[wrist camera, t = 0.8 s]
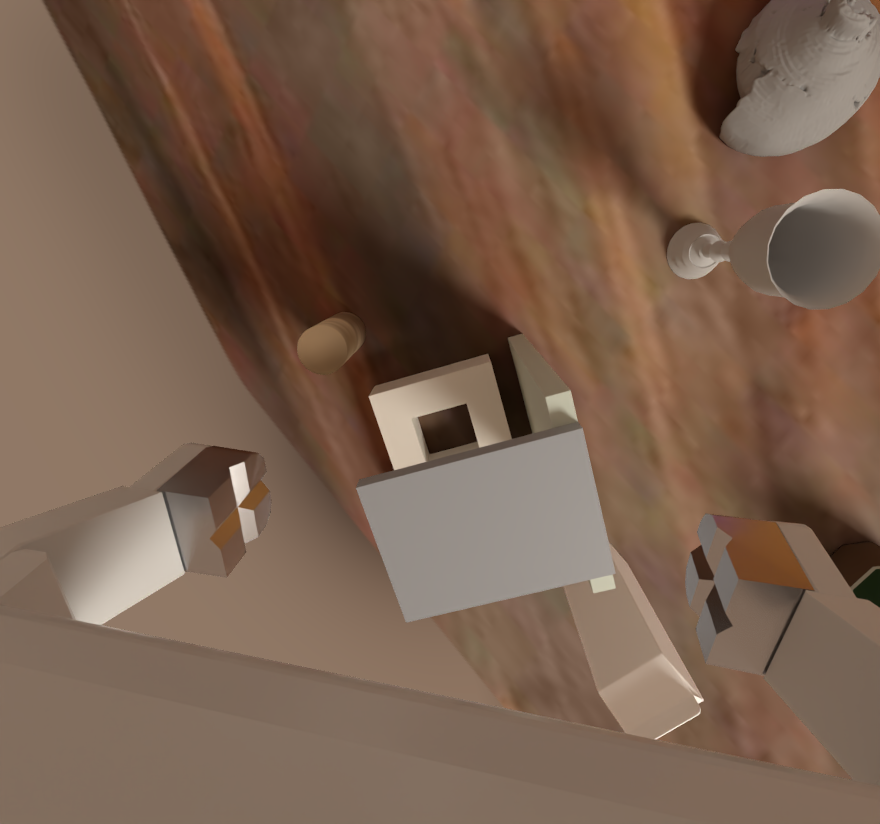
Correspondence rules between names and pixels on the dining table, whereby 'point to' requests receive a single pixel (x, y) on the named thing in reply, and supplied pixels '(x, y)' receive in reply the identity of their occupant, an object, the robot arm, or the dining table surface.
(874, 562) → the beer bottle
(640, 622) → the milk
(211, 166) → the dining table surface
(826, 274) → the chalice
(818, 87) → the grey conch shell
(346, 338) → the peg
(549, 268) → the dining table surface
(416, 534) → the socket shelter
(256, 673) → the robot arm
